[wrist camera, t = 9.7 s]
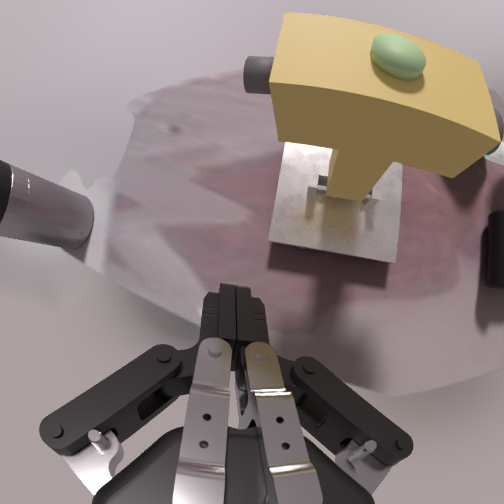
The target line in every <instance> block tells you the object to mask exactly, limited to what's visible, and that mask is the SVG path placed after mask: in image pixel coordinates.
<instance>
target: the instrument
mask: <svg viewBox="0 0 504 504" xmlns="http://www.w3.org/2000/svg"><path fill="white" fill-rule="evenodd" d="M244 87H245V91H246V92H247V93H257V94H271V97H272V103H273V109H274V115H275V121H276V127H277V133H278V139H279V141H282V142H290V143H297V144H305V145H311V146H318V147H324V148H330V149H333V150H332V154H331V158H330V162H329V171H328V179H327V187H326V196H332V197H337V198H343V199H348V200H353V201H358V202H362V201H363V200H364V199H365V197H366V196H367V195H368V193H369V192H370V191H371V190H372V188H373V187H374V186H375V185H376V183H377V182H378V181H379V179H380V178H381V177H382V176H383V174H384V173H385V172H386V170H387V169H388V168H389V166H390V165H391V164H392V162H397V163H401V164H405V165H408V166H412V167H416V168H419V169H423V170H426V171H430V172H433V173H437V174H440V175H443V176H446V177H449V178H454V177H455V176H457V175H458V174H460V173H461V172H462V171H464V170H465V169H466V168H468V167H469V166H471V165H472V164H473V163H475V162H476V161H477V160H479V159H480V158H481V157H483V156H484V155H485V154H492V153H494V152H495V151H496V150H497V149H498V148H499V146H500V144H501V142H502V138H503V133H504V125H503V120H502V117H501V115H500V113H499V112H498V111H497V110H495V109H493V105H492V101H491V98H490V95H489V91H488V88H487V85H486V82H485V79H484V76H483V73H482V71H481V68H480V65H479V62H478V61H476V60H474V59H471V58H470V57H467V56H465V55H463V54H461V53H459V52H456V51H454V50H452V49H449V48H447V47H444V46H442V45H439V44H437V43H434V42H431V41H429V40H426V39H423V38H420V37H417V36H414V35H411V34H408V33H405V32H401V31H398V30H394V29H391V28H387V27H383V26H379V25H375V24H371V23H366V22H361V21H356V20H351V19H345V18H339V17H331V16H325V15H316V14H306V13H293V12H285V15H284V19H283V23H282V27H281V31H280V35H279V40H278V44H277V48H276V52H275V57H255V56H254V57H252V56H249V57H248V58H247V59H246V62H245V66H244Z"/></svg>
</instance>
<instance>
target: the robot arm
mask: <svg viewBox="0 0 504 504" xmlns="http://www.w3.org/2000/svg"><path fill="white" fill-rule="evenodd" d="M92 225H93V207H92V204H91V202H90V200H89V199H88V198H87V197H86V196H83V195H81V194H79V193H76V192H74V191H71V190H69V189H67V188H65V187H62V186H60V185H57V184H55V183H53V182H50V181H48V180H45V179H43V178H41V177H39V176H36V175H34V174H31V173H29V172H27V171H24V170H22V169H19V168H17V167H15V166H12V165H10V164H8V163H5V162H3V161H1V160H0V236H3V237H8V238H13V239H18V240H24V241H29V242H35V243H40V244H46V245H51V246H57V247H62V248H68V249H75V248H77V247H79V246H81V245H82V244H83V243H84V242H85V241H86V239H87V237H88V236H89V234H90V231H91V228H92ZM230 371H235V380H236V382H235V390H236V398H237V406H238V414H239V427H238V429H235V428H232V427H229V426H228V414H229V400H230V391H229V380H230ZM186 394H189V400H188V405H187V412H186V417H185V424H184V426H183V427H179V428H176V429H173V430H171V431H169V432H167V433H165V434H164V435H163V436H161V437H160V438H159V439H158V440H157V441H156V442H154V443H153V444H152V445H151V446H150V447H149V448H148V449H146V450H145V451H144V452H143V453H142V454H141V455H140V456H138V457H137V458H136V459H135V460H134V461H133V462H131V463H130V464H129V465H128V466H127V467H125V468H124V469H123V470H122V471H121V472H120V473H118V474H117V475H116V476H115V469H116V467H117V465H118V464H119V463H120V462H121V460H122V459H123V455H124V451H123V448H122V446H121V443H122V442H123V441H125V440H126V439H127V438H129V437H130V436H131V435H133V434H134V433H135V432H136V431H138V430H139V429H140V428H141V427H143V426H144V425H145V424H147V423H148V422H149V421H150V420H152V419H153V418H154V417H155V416H157V415H158V414H159V413H160V412H162V411H163V410H164V409H165V408H167V407H168V406H169V405H170V404H172V403H173V402H174V401H175V400H176V399H177V398H178V397H179V396H180V395H186ZM301 426H302V427H303V428H304V429H305V430H307V431H308V432H309V433H310V434H311V435H312V436H313V437H315V438H316V439H317V440H318V441H319V442H320V443H321V444H322V445H324V446H325V447H326V448H327V449H328V450H329V451H331V452H332V453H333V454H334V455H335V456H336V458H335V462H336V463H334V462H333V461H332V460H331V459H330V458H329V457H328V456H327V455H326V454H324V453H323V452H322V451H321V450H320V449H319V448H318V447H317V446H316V445H315V444H314V443H313V442H311V441H310V440H309V439H307V438H306V437H305V436H303V433H302V429H301ZM39 431H40V436H41V438H42V440H43V441H44V442H45V443H46V444H47V445H48V446H49V447H50V448H52V449H53V450H54V451H55V452H56V453H57V454H59V455H60V456H61V457H63V458H64V459H65V461H66V462H67V463H68V465H69V466H70V467H71V469H72V470H73V471H74V472H75V473H76V475H77V476H78V477H79V478H80V480H81V481H82V482H83V483H84V484H85V485H86V487H87V488H88V489H89V490H90V491H91V492H92V493H93V494H94V497H93V501H92V504H375V502H374V499H373V497H372V493H373V492H374V491H375V490H376V488H377V487H378V486H379V484H380V483H381V482H382V480H383V479H384V478H385V476H386V475H387V473H388V472H389V470H390V469H391V468H392V466H394V465H396V464H397V463H398V462H399V461H401V460H403V459H404V458H406V457H408V456H409V455H410V454H411V453H412V450H413V441H412V438H411V437H410V436H409V435H408V434H407V433H406V432H405V431H403V430H402V429H401V428H399V427H398V426H397V425H396V424H394V423H393V422H392V421H390V420H389V419H388V418H387V417H385V416H384V415H383V414H382V413H380V412H379V411H378V410H377V409H375V408H374V407H373V406H372V405H370V404H369V403H368V402H367V401H365V400H364V399H363V398H362V397H361V396H359V395H358V394H357V393H356V392H354V391H353V390H352V389H351V388H349V387H348V386H347V385H346V384H345V383H344V382H342V381H341V380H340V379H339V378H338V377H336V376H335V375H334V374H333V373H332V372H330V371H329V370H328V369H327V368H326V367H324V366H323V365H322V364H321V363H320V362H319V361H317V360H316V359H314V358H312V357H300V358H298V359H297V360H296V361H295V362H294V361H290V360H287V359H284V358H282V357H280V356H278V355H277V354H276V351H275V350H274V348H273V347H272V346H270V344H269V336H268V329H267V321H266V315H265V306H264V304H263V303H262V301H261V300H260V298H253V297H251V288H250V287H246V286H238V285H236V286H235V285H230V284H223V283H220V287H219V293H212V292H209V293H208V294H207V295H206V296H205V298H204V301H203V310H202V318H201V328H200V339H199V341H198V343H197V344H196V345H195V346H193V347H192V348H189V349H185V350H179V351H178V350H176V349H175V348H174V347H172V346H170V345H165V344H160V345H156V346H154V347H152V348H151V349H149V350H148V351H146V352H145V353H143V354H142V355H140V356H139V357H137V358H136V359H134V360H133V361H131V362H130V363H128V364H127V365H125V366H124V367H122V368H121V369H119V370H118V371H116V372H115V373H113V374H112V375H110V376H109V377H107V378H106V379H104V380H103V381H101V382H99V383H98V384H96V385H95V386H93V387H92V388H90V389H89V390H87V391H86V392H84V393H83V394H81V395H79V396H78V397H76V398H75V399H73V400H72V401H70V402H69V403H67V404H65V405H64V406H62V407H61V408H59V409H58V410H56V411H54V412H53V413H51V414H50V415H48V416H46V417H45V418H44V419H43V420H42V422H41V424H40V428H39Z"/></svg>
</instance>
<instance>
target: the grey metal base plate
mask: <svg viewBox="0 0 504 504" xmlns="http://www.w3.org/2000/svg"><path fill="white" fill-rule="evenodd" d="M332 150H333V149H330V148H324V147H318V146H311V145H305V144H297V143H290V142H285V147H284V153H283V159H282V165H281V170H280V176H279V182H278V188H277V193H276V199H275V205H274V210H273V216H272V221H271V227H270V232H269V238H268V241H269V242H273V243H279V244H285V245H291V246H295V247H296V248H298V249H300V250H304V251H306V250H310V249H314V250H319V251H325V252H331V253H336V254H342V255H347V256H353V257H359V258H364V259H370V260H375V261H380V262H386V263H391V264H394V263H395V262H396V254H397V245H398V236H399V225H400V212H401V194H402V164H401V163H397V162H392V164H391V165H390V166H389V168H388V169H387V170H386V172H385V173H384V174H383V176H382V177H381V178H380V179H379V181H378V182H377V183H376V185H375V186H374V187H373V188H372V190H371V191H370V192H369V193H368V195H367V196H366V197H365V199H364V200H363V201H362V202H358V201H353V200H348V199H343V198H337V197H332V196H326V187H327V179H328V171H329V162H330V158H331V154H332Z"/></svg>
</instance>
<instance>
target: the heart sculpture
mask: <svg viewBox="0 0 504 504" xmlns="http://www.w3.org/2000/svg"><path fill="white" fill-rule="evenodd" d="M484 158H485V159H487V160H490V161H492V162H495V163H498V164H500V165H503V166H504V142H501V144H500V146H499V148H498V149H497V150H496V151H495V152H494V153H492V154H490V155H489V156H487V155H484Z"/></svg>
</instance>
